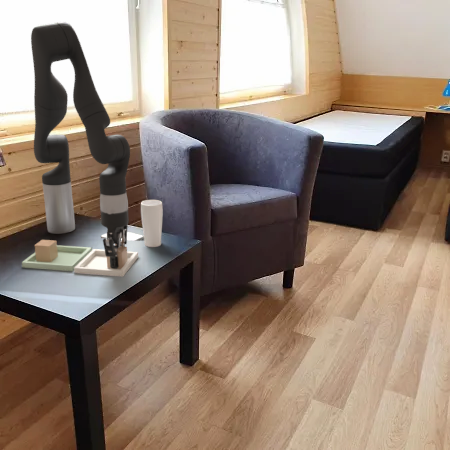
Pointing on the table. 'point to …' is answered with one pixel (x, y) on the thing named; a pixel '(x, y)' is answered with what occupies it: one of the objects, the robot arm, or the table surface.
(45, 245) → the tan boxy piece
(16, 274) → the table surface
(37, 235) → the table surface
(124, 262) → the tan block
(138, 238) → the external hard drive
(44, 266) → the tray
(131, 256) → the tray
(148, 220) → the drinking glass
